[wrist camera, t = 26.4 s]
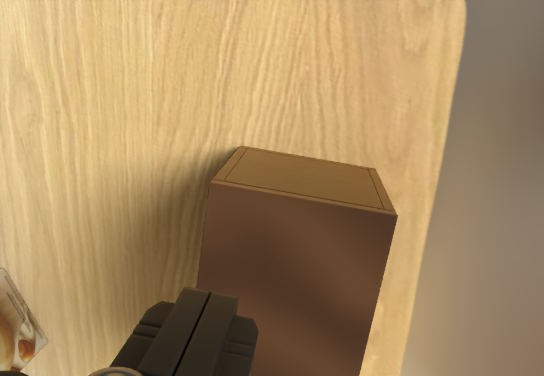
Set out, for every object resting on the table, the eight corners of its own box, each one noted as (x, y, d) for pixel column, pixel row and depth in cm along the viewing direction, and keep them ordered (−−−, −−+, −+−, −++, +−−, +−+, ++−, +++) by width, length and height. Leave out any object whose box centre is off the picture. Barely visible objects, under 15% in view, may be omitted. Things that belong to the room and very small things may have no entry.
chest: (343, 309, 42) (351, 391, 32) (221, 286, 43) (190, 359, 33) (375, 168, 38) (395, 211, 28) (240, 145, 39) (212, 178, 29)
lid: (349, 403, 32) (350, 411, 31) (188, 371, 33) (185, 379, 32) (395, 211, 28) (398, 215, 27) (212, 179, 29) (209, 182, 28)
